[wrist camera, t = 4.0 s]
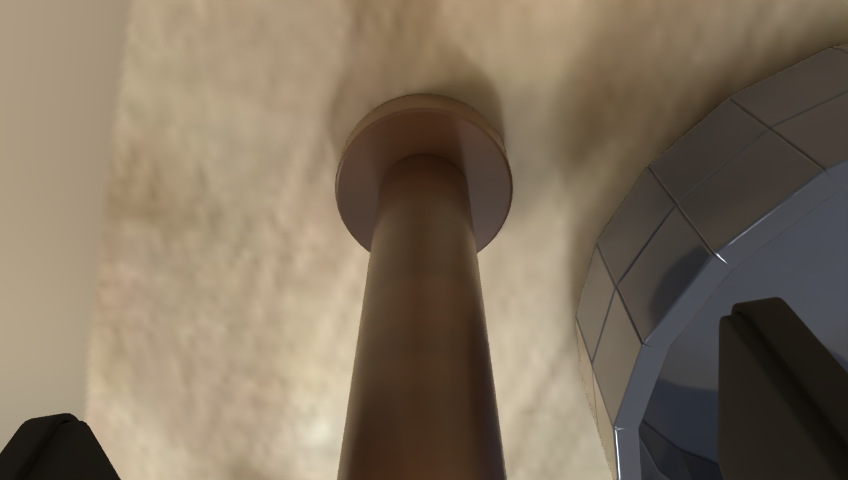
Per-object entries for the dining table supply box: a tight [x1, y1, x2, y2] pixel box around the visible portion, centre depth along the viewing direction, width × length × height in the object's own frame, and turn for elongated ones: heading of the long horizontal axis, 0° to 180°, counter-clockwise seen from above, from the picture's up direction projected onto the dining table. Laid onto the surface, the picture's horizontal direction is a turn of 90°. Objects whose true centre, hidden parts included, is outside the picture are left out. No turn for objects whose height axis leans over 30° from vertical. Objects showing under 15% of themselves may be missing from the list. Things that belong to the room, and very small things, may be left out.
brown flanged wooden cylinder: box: [335, 94, 513, 480], centre depth 12 cm, size 4×4×12 cm
